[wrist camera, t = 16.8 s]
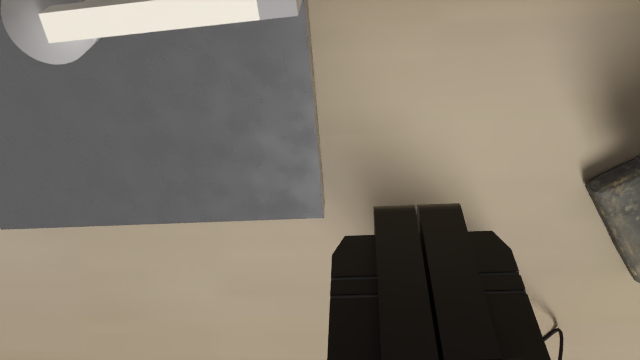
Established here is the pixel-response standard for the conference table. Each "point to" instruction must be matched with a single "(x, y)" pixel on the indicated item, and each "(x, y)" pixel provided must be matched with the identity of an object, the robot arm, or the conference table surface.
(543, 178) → the conference table surface
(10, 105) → the levelling base
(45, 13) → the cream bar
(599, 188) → the embossing press
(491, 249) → the robot arm
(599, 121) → the conference table surface
